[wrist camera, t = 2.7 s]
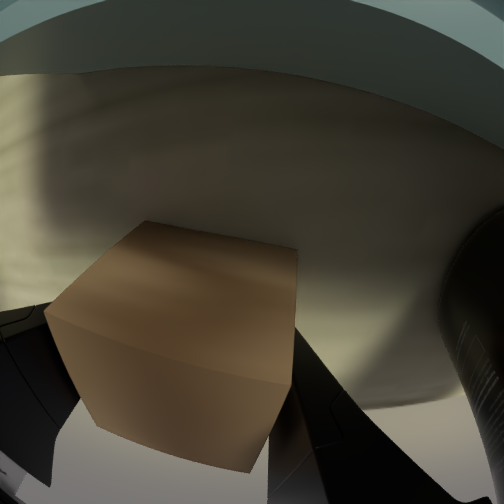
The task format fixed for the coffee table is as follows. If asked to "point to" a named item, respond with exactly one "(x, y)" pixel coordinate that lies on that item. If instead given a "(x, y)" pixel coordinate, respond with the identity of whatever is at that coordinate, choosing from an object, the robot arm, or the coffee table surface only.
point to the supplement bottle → (479, 334)
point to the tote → (282, 45)
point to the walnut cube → (183, 341)
